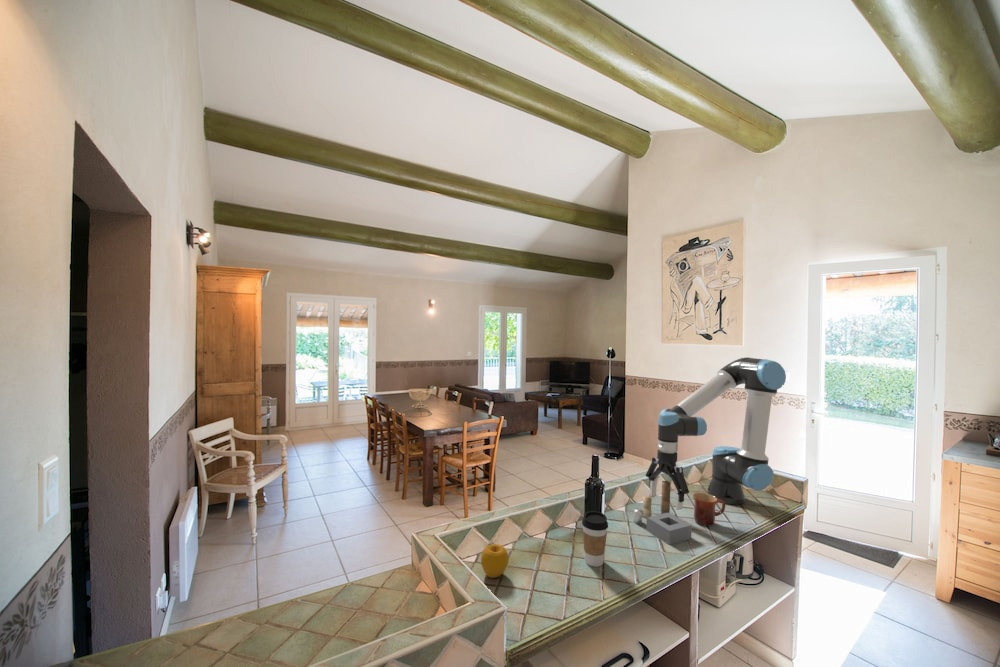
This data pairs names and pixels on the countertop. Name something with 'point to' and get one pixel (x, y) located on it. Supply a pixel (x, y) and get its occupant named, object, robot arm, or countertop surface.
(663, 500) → the walnut pin
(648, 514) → the beech pin
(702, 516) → the mug
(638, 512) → the steel pin
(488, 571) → the apple
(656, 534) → the hole block
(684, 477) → the robot arm
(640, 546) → the countertop surface
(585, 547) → the coffee cup
